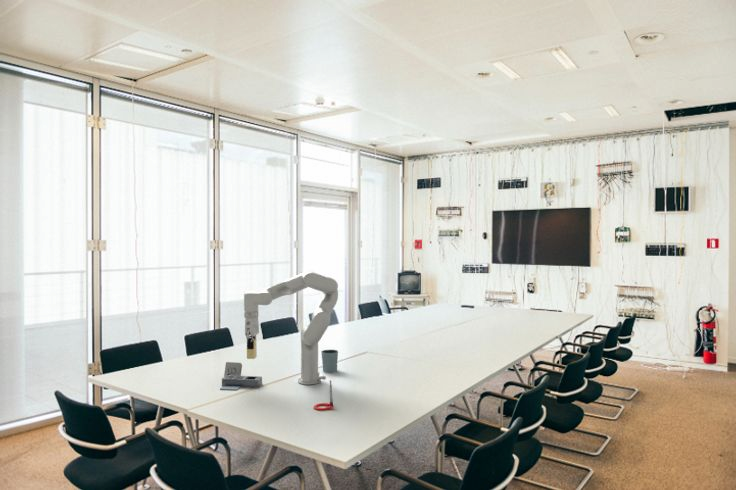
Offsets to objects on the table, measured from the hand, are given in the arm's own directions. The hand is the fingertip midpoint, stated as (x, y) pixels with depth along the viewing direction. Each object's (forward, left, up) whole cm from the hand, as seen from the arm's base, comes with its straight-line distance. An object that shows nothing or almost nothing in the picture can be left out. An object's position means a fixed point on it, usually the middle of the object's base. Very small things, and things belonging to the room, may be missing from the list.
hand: (251, 347), depth 267 cm
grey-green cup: (-37, -34, -21) cm, 54 cm away
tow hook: (-46, +31, -21) cm, 59 cm away
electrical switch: (+15, -12, -21) cm, 29 cm away
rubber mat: (+9, +7, -20) cm, 24 cm away
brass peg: (0, 0, -5) cm, 6 cm away
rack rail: (+5, 0, -20) cm, 21 cm away
